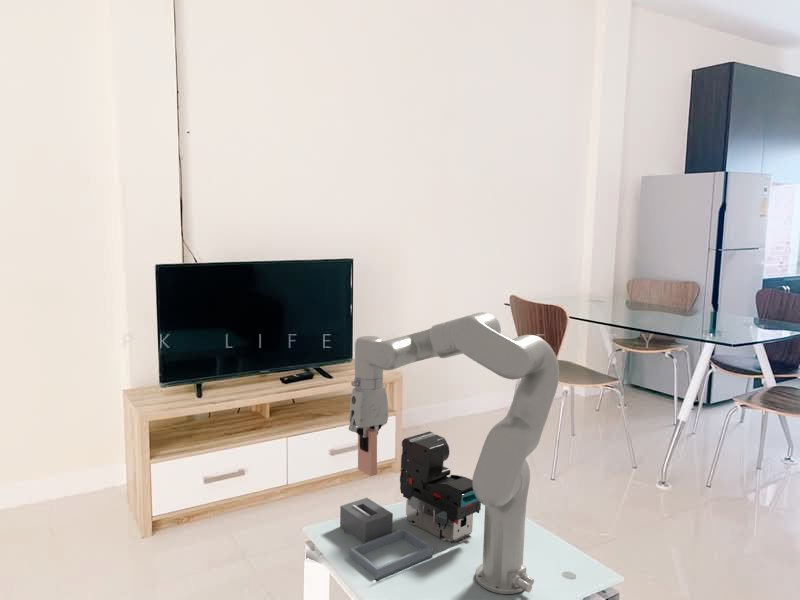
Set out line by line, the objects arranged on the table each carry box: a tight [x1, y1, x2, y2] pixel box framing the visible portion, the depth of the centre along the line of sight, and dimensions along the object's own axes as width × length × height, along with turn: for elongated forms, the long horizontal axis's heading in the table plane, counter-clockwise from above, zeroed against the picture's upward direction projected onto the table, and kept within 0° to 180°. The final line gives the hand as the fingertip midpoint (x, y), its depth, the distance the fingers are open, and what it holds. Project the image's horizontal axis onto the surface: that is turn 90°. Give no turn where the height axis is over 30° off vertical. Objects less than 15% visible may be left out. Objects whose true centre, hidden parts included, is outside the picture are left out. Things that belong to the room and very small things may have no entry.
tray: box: [349, 528, 434, 582], centre depth 153 cm, size 12×18×3 cm, turn 129°
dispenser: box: [339, 497, 394, 544], centre depth 165 cm, size 12×9×7 cm
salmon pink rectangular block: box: [357, 427, 378, 477], centre depth 162 cm, size 6×2×12 cm, turn 39°
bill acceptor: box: [399, 430, 482, 544], centre depth 167 cm, size 10×23×25 cm, turn 44°
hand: (367, 449), depth 162 cm, fingers closed on salmon pink rectangular block, 1 cm apart
